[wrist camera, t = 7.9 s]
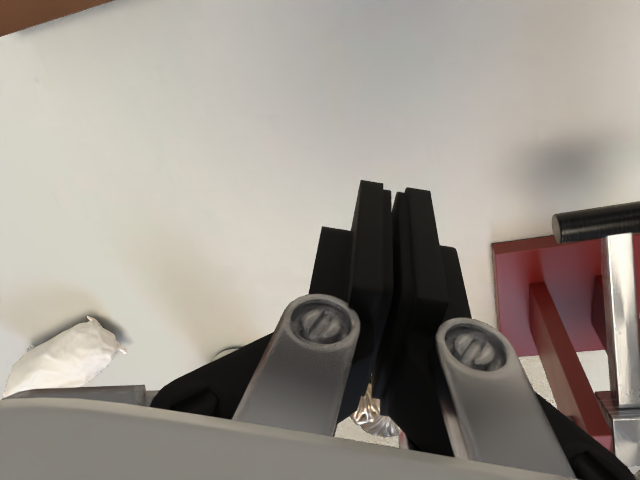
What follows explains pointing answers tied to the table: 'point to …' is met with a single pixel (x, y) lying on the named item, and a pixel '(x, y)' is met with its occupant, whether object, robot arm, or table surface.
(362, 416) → the ornament
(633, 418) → the lever
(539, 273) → the red wooden frame
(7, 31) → the button block
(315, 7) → the table surface
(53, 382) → the crumpled white bag
